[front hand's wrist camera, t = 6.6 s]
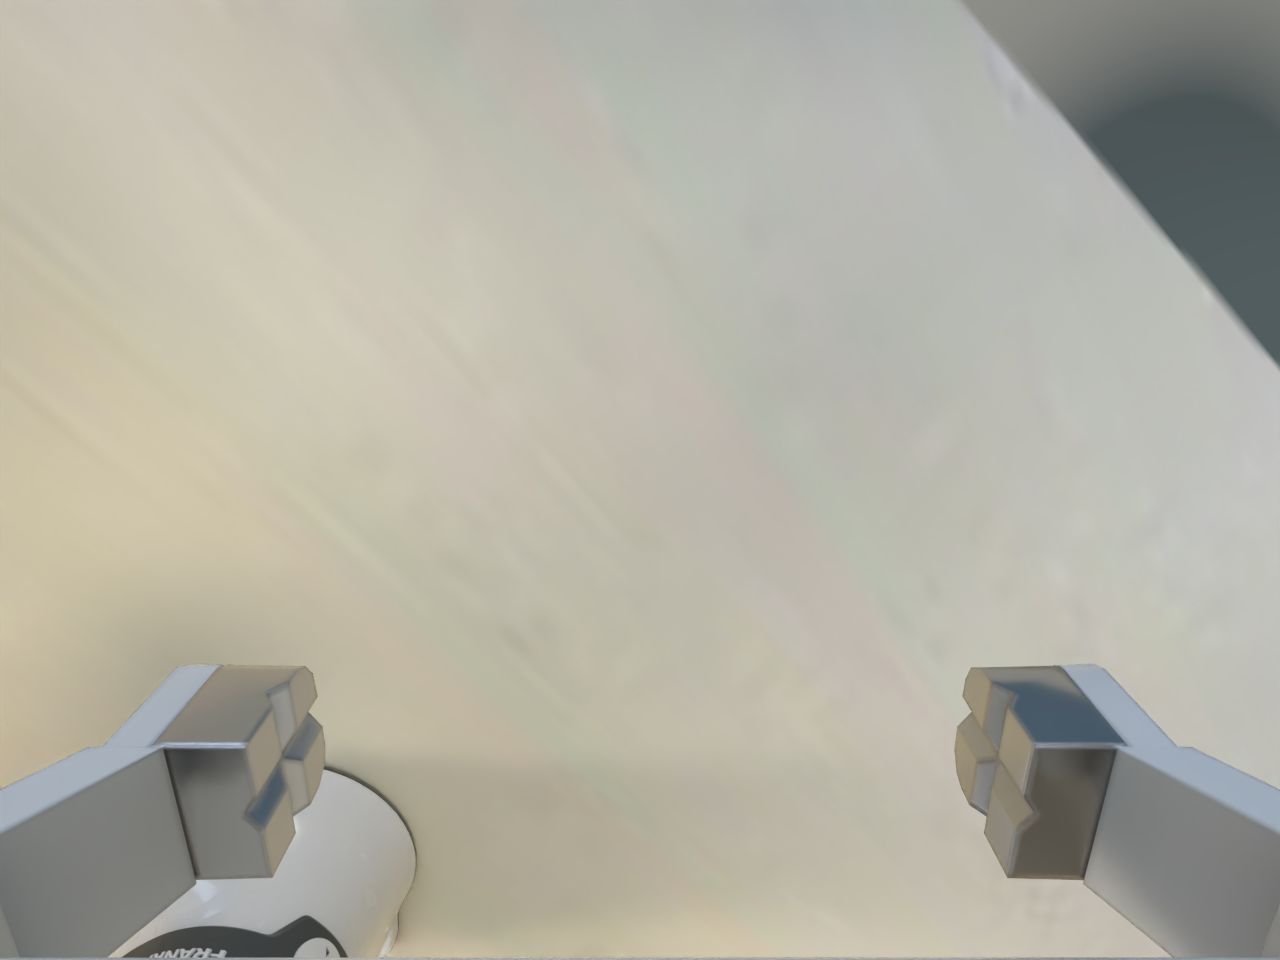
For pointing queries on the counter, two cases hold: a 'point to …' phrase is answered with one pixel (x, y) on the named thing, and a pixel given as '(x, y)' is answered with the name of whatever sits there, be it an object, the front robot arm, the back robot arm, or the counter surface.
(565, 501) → the counter surface
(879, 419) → the counter surface
